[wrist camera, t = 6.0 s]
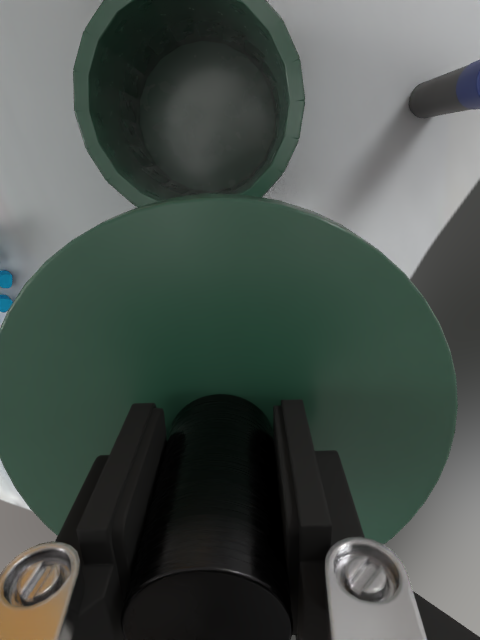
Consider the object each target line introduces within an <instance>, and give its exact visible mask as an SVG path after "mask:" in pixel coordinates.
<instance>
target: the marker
mask: <svg viewBox="0 0 480 640" xmlns="http://www.w3.org/2000/svg"><path fill="white" fill-rule="evenodd" d="M409 106H410V109H411V111H412V113H413V114H414V115H415V116H417V117H419V118H427V117H433V116H438V115H443V114H449V113H454V112H460V111H465V110H470V109H480V60H478V61H475V62H473V63H471V64H470V65H468V66H465V67H462V68H460V69H457V70H455V71H452V72H449V73H447V74H444V75H442V76H439V77H436V78H434V79H431V80H429V81H426V82H424V83H421V84H419V85H418V86H417V87H416V88H415V89H414V90H413V92H412V93H411V96H410V100H409Z"/></svg>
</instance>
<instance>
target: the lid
mask: <svg viewBox="0 0 480 640" xmlns="http://www.w3.org/2000/svg"><path fill="white" fill-rule="evenodd" d="M295 399H302V400H303V403H304V408H305V412H306V416H307V420H308V425H309V429H310V433H311V437H312V442H313V446H314V450H315V451H326V450H336V451H337V452H338V454H339V456H340V459H341V463H342V466H343V469H344V472H345V476H346V479H347V482H348V485H349V488H350V492H351V495H352V498H353V501H354V504H355V508H356V511H357V514H358V517H359V520H360V524H361V527H362V530H363V533H364V536H365V538H370V539H373V540H375V541H377V542H380V543H382V544H385V543H387V542H388V541H389V540H390V539H392V538H393V537H394V536H395V535H396V534H397V533H398V532H399V531H400V530H401V529H402V528H403V527H404V526H405V525H406V524H407V523H408V522H409V521H410V520H411V519H412V517H413V516H414V515H415V514H416V513H417V511H418V510H419V509H420V508H421V506H422V505H423V504H424V502H425V501H426V500H427V498H428V497H429V495H430V493H431V492H432V490H433V488H434V487H435V485H436V483H437V481H438V480H439V477H440V475H441V473H442V471H443V468H444V466H445V464H446V461H447V459H448V456H449V453H450V448H451V444H452V441H453V437H454V433H455V426H456V415H457V407H458V405H457V386H456V375H455V371H454V366H453V361H452V357H451V352H450V349H449V346H448V344H447V341H446V339H445V336H444V334H443V331H442V329H441V326H440V323H439V322H438V320H437V318H436V317H435V315H434V313H433V312H432V310H431V308H430V307H429V305H428V303H427V302H426V300H425V298H424V297H423V295H422V294H421V293H420V292H419V290H418V289H417V288H416V287H415V286H414V284H413V283H412V282H411V281H410V279H409V278H408V277H407V276H406V275H405V273H404V272H403V271H401V270H400V269H399V268H398V267H397V266H396V265H395V264H394V263H393V262H391V261H390V260H389V259H388V258H387V257H386V256H385V255H384V254H383V253H382V252H380V251H379V250H378V249H377V248H375V247H374V246H372V245H371V244H370V243H368V242H367V241H365V240H364V239H362V238H361V237H359V236H358V235H356V234H355V233H353V232H352V231H350V230H349V229H347V228H346V227H344V226H343V225H341V224H338V223H336V222H334V221H332V220H330V219H328V218H326V217H324V216H322V215H320V214H318V213H315V212H313V211H311V210H308V209H304V208H301V207H298V206H295V205H292V204H289V203H286V202H282V201H279V200H273V199H267V198H261V197H256V196H250V195H237V194H202V195H192V196H182V197H175V198H171V199H167V200H163V201H159V202H155V203H150V204H146V205H143V206H140V207H138V208H135V209H133V210H130V211H128V212H125V213H123V214H120V215H118V216H115V217H113V218H111V219H109V220H107V221H105V222H103V223H101V224H99V225H97V226H96V227H94V228H92V229H90V230H89V231H87V232H85V233H84V234H82V235H80V236H78V237H77V238H75V239H73V240H72V241H70V242H69V243H68V244H67V245H65V246H64V247H63V248H62V249H60V250H59V251H58V252H57V253H56V254H54V255H53V256H52V257H51V258H49V259H48V260H47V261H46V262H45V263H44V264H43V265H42V266H41V267H40V268H39V270H38V271H37V272H36V273H35V274H34V275H33V276H32V277H31V278H30V279H29V280H28V282H27V283H26V284H25V285H24V287H23V288H22V290H21V291H20V293H19V294H18V296H17V297H16V299H15V300H14V302H13V303H12V305H11V307H10V308H9V310H8V312H7V314H6V317H5V319H4V321H3V323H2V326H1V328H0V458H1V461H2V463H3V466H4V468H5V470H6V472H7V473H8V475H9V477H10V479H11V481H12V483H13V484H14V486H15V488H16V489H17V491H18V492H19V494H20V495H21V496H22V498H23V499H24V501H25V502H26V503H27V505H28V506H29V507H30V509H31V510H32V511H33V512H34V513H35V514H36V515H37V516H38V517H39V518H40V520H42V522H43V523H44V524H45V525H46V526H47V527H48V528H49V529H50V530H52V531H53V532H54V533H55V534H56V535H59V533H60V530H61V528H62V526H63V524H64V522H65V520H66V518H67V516H68V514H69V512H70V510H71V508H72V506H73V504H74V502H75V500H76V498H77V496H78V494H79V492H80V489H81V487H82V485H83V483H84V481H85V479H86V477H87V475H88V473H89V471H90V469H91V467H92V465H93V463H94V461H95V459H96V458H97V457H98V456H99V455H110V453H111V450H112V448H113V446H114V444H115V441H116V439H117V437H118V435H119V432H120V430H121V428H122V426H123V424H124V421H125V419H126V417H127V415H128V412H129V410H130V408H131V406H132V404H134V403H155V404H156V408H163V411H164V417H165V426H166V435H167V445H166V449H165V452H164V456H163V460H162V464H161V467H160V471H159V475H158V479H157V482H156V486H155V490H154V494H153V497H152V501H151V505H150V509H149V512H148V516H147V520H146V524H145V527H144V531H143V535H142V539H141V542H140V546H139V550H138V554H137V557H136V561H135V565H134V569H133V572H132V576H131V580H130V584H129V587H128V591H127V595H126V599H125V602H124V606H123V610H122V614H121V627H122V633H123V636H124V639H125V640H290V639H291V636H292V632H293V618H292V609H291V599H290V589H289V580H288V577H287V571H286V561H285V551H284V541H283V531H282V521H281V511H280V501H279V491H278V481H277V471H276V461H275V451H274V441H273V406H277V405H281V400H295Z"/></svg>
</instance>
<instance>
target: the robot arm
mask: <svg viewBox="0 0 480 640" xmlns="http://www.w3.org/2000/svg"><path fill="white" fill-rule="evenodd" d="M273 441H274V451H275V461H276V471H277V481H278V491H279V501H280V511H281V521H282V531H283V541H284V551H285V561H286V571H287V577H288V580H289V589H290V599H291V609H292V618H293V632H292V635H296V640H480V637H479V636H477V635H476V634H474V633H473V632H471V631H470V630H469V629H467V628H466V627H464V626H463V625H461V624H460V623H458V622H457V621H456V620H454V619H453V618H451V617H450V616H448V615H447V614H445V613H444V612H442V611H441V610H439V609H438V608H437V607H435V606H434V605H432V604H431V603H429V602H428V601H426V600H425V599H424V598H422V597H421V596H419V595H418V594H416V593H415V592H414V591H413V590H412V586H411V583H410V580H409V576H408V573H407V571H406V569H405V567H404V564H403V562H402V561H401V560H400V559H399V557H398V556H397V555H396V554H395V553H394V552H393V551H392V550H391V549H389V548H388V547H387V546H385V545H384V544H382V543H380V542H377V541H375V540H373V539H370V538H365V536H364V533H363V530H362V527H361V524H360V520H359V517H358V514H357V511H356V508H355V504H354V501H353V498H352V495H351V492H350V488H349V485H348V482H347V479H346V476H345V472H344V469H343V466H342V463H341V459H340V456H339V454H338V452H337V451H336V450H326V451H315V450H314V446H313V442H312V437H311V433H310V429H309V425H308V420H307V416H306V412H305V408H304V403H303V400H302V399H295V400H281V405H277V406H273ZM166 445H167V435H166V426H165V417H164V411H163V408H156V404H155V403H134V404H132V406H131V408H130V410H129V412H128V415H127V417H126V419H125V421H124V424H123V426H122V428H121V430H120V432H119V435H118V437H117V439H116V441H115V444H114V446H113V448H112V450H111V453H110V455H99V456H98V457H97V458H96V459H95V461H94V463H93V465H92V467H91V469H90V471H89V473H88V475H87V477H86V479H85V481H84V483H83V485H82V487H81V489H80V492H79V494H78V496H77V498H76V500H75V502H74V504H73V506H72V508H71V510H70V512H69V514H68V516H67V518H66V520H65V522H64V524H63V526H62V528H61V530H60V533H59V535H58V537H57V539H56V541H55V542H47V543H42V544H39V545H36V546H34V547H31V548H30V549H27V550H25V551H24V552H22V553H21V554H19V555H18V556H17V557H15V558H14V559H13V560H12V561H11V562H10V563H9V564H8V565H7V566H6V567H5V568H4V570H3V571H2V572H1V574H0V640H125V639H124V636H123V633H122V627H121V614H122V610H123V606H124V602H125V599H126V595H127V591H128V587H129V584H130V580H131V576H132V572H133V569H134V565H135V561H136V557H137V554H138V550H139V546H140V542H141V539H142V535H143V531H144V527H145V524H146V520H147V516H148V512H149V509H150V505H151V501H152V497H153V494H154V490H155V486H156V482H157V479H158V475H159V471H160V467H161V464H162V460H163V456H164V452H165V449H166Z"/></svg>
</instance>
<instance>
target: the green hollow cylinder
mask: <svg viewBox="0 0 480 640" xmlns="http://www.w3.org/2000/svg"><path fill="white" fill-rule="evenodd" d="M73 70H74V71H73V83H74V110H75V115H76V118H77V122H78V125H79V128H80V131H81V135H82V138H83V141H84V144H85V147H86V149H87V152H88V153H89V155H90V156H91V158H92V159H93V161H94V162H95V164H96V166H97V167H98V169H99V170H100V172H101V173H102V175H103V176H104V178H105V180H106V181H107V182H108V183H109V184H110V185H111V186H113V187H114V188H115V189H116V190H117V191H118V192H119V193H121V194H122V195H123V196H124V197H125V198H126V199H127V200H129V201H130V202H131V203H132V204H134V205H135V206H137V207H140V206H143V205H146V204H150V203H155V202H159V201H163V200H167V199H171V198H175V197H182V196H192V195H202V194H237V195H250V196H256V197H261V198H262V197H263V196H264V194H265V193H266V192H267V191H268V190H269V189H270V188H271V187H272V186H273V185H274V183H275V182H276V181H277V180H278V179H279V178H280V177H281V176H282V173H284V171H285V169H286V167H287V165H288V163H289V160H290V158H291V156H292V154H293V152H294V150H295V148H296V146H297V143H298V139H299V138H300V132H301V125H302V119H303V112H304V106H305V101H304V100H305V94H304V86H303V78H302V70H301V63H300V58H299V55H298V53H297V51H296V48H295V46H294V44H293V42H292V39H291V37H290V35H289V33H288V30H287V28H286V26H285V24H284V21H283V20H282V18H281V17H280V16H279V15H278V14H277V12H276V11H275V10H274V9H273V8H272V7H271V6H270V5H269V3H268V2H267V1H266V0H104V1H103V2H102V4H101V5H100V7H99V8H98V10H97V11H96V13H95V14H94V16H93V17H92V19H91V20H90V22H89V23H88V25H87V26H86V28H85V31H84V32H83V35H82V39H81V43H80V46H79V50H78V54H77V57H76V61H75V65H74V69H73Z"/></svg>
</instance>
